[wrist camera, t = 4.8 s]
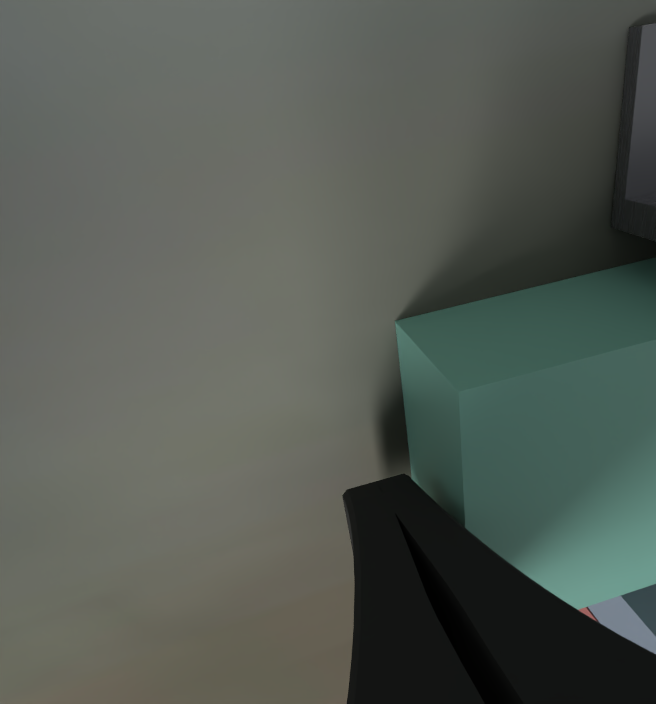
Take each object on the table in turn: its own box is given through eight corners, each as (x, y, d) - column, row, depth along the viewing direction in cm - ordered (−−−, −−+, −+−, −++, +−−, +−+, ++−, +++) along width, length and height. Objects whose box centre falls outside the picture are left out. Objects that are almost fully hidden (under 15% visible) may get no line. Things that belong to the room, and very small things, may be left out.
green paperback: (415, 536, 13) (471, 645, 11) (392, 317, 11) (458, 391, 8) (697, 451, 14) (811, 532, 12) (742, 232, 12) (904, 272, 9)
